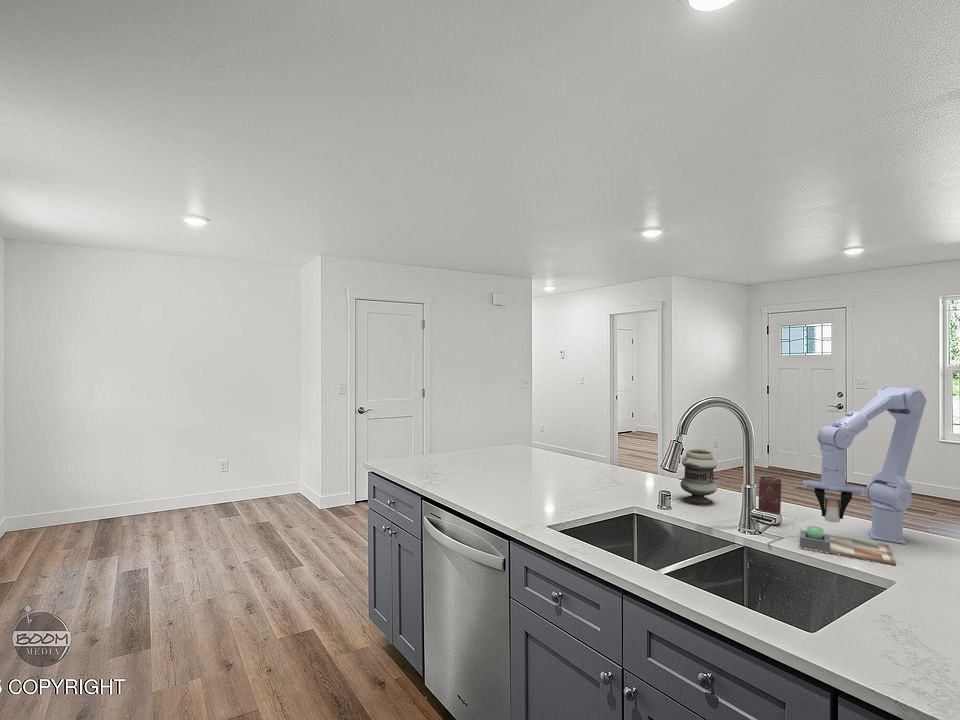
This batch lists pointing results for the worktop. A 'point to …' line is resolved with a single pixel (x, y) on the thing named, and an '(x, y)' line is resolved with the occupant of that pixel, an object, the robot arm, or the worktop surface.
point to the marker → (832, 509)
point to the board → (860, 549)
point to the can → (770, 494)
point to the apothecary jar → (699, 476)
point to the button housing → (815, 542)
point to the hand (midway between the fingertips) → (832, 516)
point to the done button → (815, 532)
